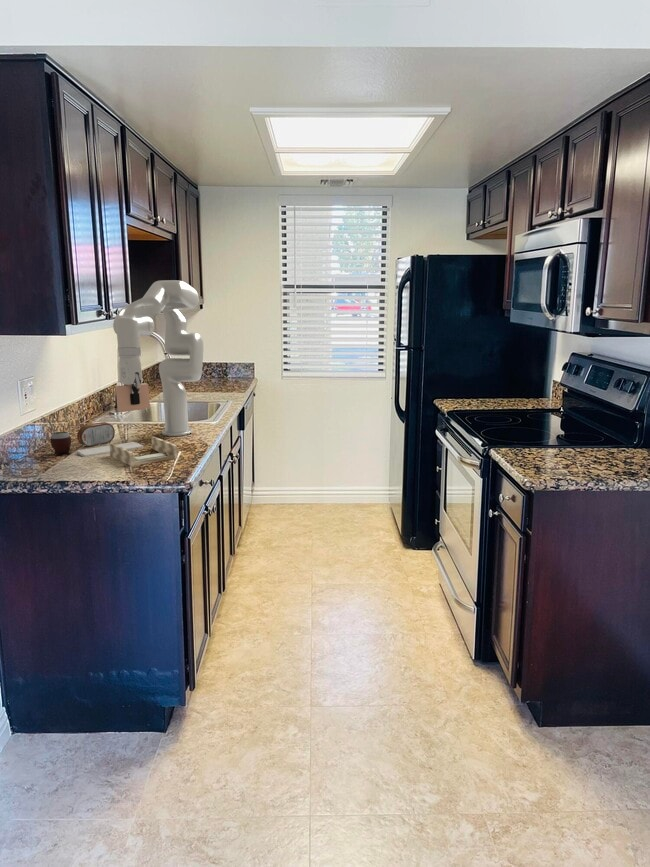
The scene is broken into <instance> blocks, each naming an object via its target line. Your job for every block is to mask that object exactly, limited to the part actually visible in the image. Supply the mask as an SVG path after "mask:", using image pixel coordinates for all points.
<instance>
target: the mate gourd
mask: <svg viewBox="0 0 650 867" xmlns="http://www.w3.org/2000/svg"><path fill="white" fill-rule="evenodd" d="M40 417H41V418H42V419H44V420H46V421H47V423H48V425H49V426H50V427H51V429H52V431H53V433H52V434H51V435H50V439H49V440H50V441H49V442H50V446H51V447H52V449H53V451H54V453H53V454H54V455H55V456H56V457H59V456H63V455H65V456H67V455H68V456H69V455H71V452H70V450H71V445H72V437H71V435H70V434H69V432H67V431H57V432H56V430H55V429H54V426H53V424H52V421H51V420H49V419H48V418H47V417H45V416H42V415H41V416H40Z"/></svg>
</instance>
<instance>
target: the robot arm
mask: <svg viewBox="0 0 650 867" xmlns="http://www.w3.org/2000/svg"><path fill="white" fill-rule="evenodd" d="M199 304H200V297H199V293H198V292H197V290H196V289H195V288H194V287H192V286H191V285H190V284H189V283H187V282H185V281H183V280H175V279H173V280H172V279H171V280H169V279H168V280H165V279H164V280H161V279H160V280H157V281H154V282H153V283H152V284H151V285H150V287H149V288H148V290H147V291H146V292H145V294H144V295H143V297H141V298H139V299H137V300H135V301H133V302H131V303H129V304H126V305H125V306H124V307H122V308H121V309H120V310H119V311H118V313H117V314H116V316H115V317H114V320H113V324H112V325H113V326H112V328H113V331H114V333H115V334H116V339H117V350H118V351H117V352H118V357H119V359H118V360H119V362H118V373H119V374H118V376H119V377H118V378H119V383H121V384H122V385H129V386H130V389H131V394H130V401H131V405H137V404H140V397H139V392H140V391H139V389H140V388H141V384H142V383H143V371H142V364H141V359H140V358H141V357H142V354H141V340H140V338H141V337H142V338H144V337H145V338H146V337H149V336H151V335H152V334H153V333H154V331H155V322H154V320H153V319H152V318H155V317H157V316H159V315H160V314H161V313H162V315H163V317H164V321H165V332H164V333H165V334H164V351H165V353H166V354H167V355H169V356H174V357H171V358H170V357H169V358H165V359H162V360H161V361H160V363H159V364H158V365H159V366H158V373H159V376H160V380H161V381H160V382H161V385H162V386H161V387H162V398H163V399H162V400H163V410H164V411H163V414H164V429H163V430H161V435H162V436H166V435H167V436H169V437H180V436H181V437H182V436H188V435H190V433H191V434H192V433H193V429H192V428H190V427H189V414H188V398H187V397H188V396H187V390H186V388H185V386H184V385H183V384H182V382H186V383H188V382H189V383H190V382H193V383H194V382H198V381H200V379H201V378H202V374H203V360H204V340H203V337H202V335H201V334H200V333H197V332H187V320H186V317H185V316H184V315H183V314H182V312H181V311H180V310H194V309H197V307H198V305H199ZM175 356H178V357H177V358H175ZM179 356H180V357H181V358H179ZM183 356H185V357H186V356H187V357H188V356H189V358H185V357H184V358H182V357H183ZM132 384H135V385H132ZM134 386H135V387H134ZM133 387H134V388H133ZM187 434H188V435H187ZM167 436H166V437H167Z"/></svg>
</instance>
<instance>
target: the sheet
mask: <svg viewBox="0 0 650 867" xmlns="http://www.w3.org/2000/svg"><path fill="white" fill-rule="evenodd" d="M132 385H135V383H134V384H132ZM134 387H135V386H134ZM134 387H133V388H134ZM139 391H140V392H139V397H140V404H137V405H131V401H130V394H131V389H130V386H129V385H124V384H122V385H115V395H116V407H117V412H119V413H126V412H132V411H140V410H148V409H149V410H150V409H151V407H150V406H151V404H150V393H149V392H150V391H149V383H146V382H144V383H143V382H142V384H141V388H140V389H139Z"/></svg>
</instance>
